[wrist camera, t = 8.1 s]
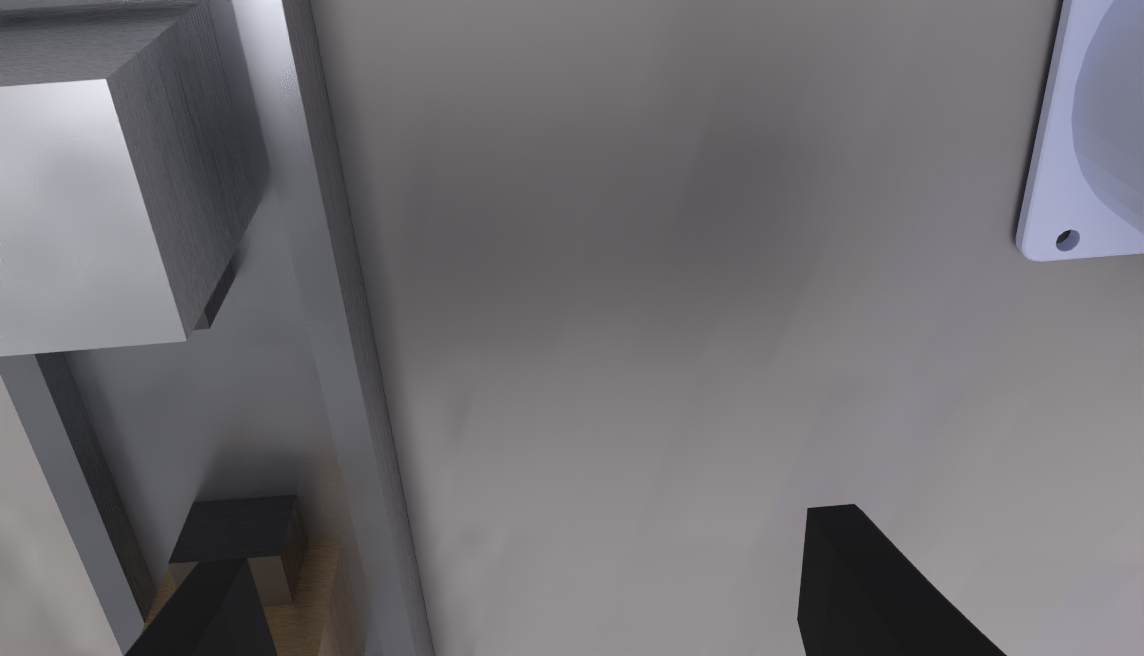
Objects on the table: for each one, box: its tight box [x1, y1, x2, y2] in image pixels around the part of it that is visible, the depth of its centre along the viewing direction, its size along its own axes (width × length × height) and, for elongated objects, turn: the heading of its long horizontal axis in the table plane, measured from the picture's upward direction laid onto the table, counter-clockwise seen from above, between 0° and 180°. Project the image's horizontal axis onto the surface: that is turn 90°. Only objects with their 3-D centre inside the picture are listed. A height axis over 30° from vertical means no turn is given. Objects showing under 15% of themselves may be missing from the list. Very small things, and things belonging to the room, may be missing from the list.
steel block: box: [0, 0, 258, 356], centre depth 16 cm, size 4×6×5 cm
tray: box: [0, 0, 434, 656], centre depth 21 cm, size 7×20×2 cm, turn 3°
